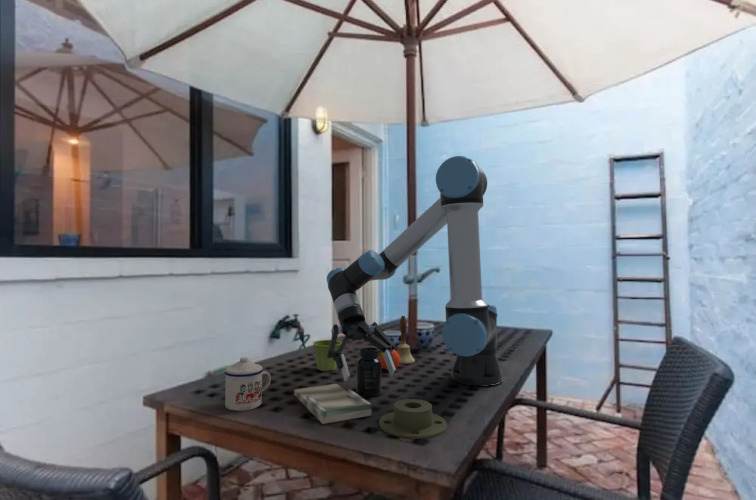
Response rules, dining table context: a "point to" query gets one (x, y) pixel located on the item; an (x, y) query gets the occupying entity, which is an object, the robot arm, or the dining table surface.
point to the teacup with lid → (244, 385)
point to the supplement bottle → (368, 373)
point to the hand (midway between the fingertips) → (370, 375)
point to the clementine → (396, 361)
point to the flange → (413, 420)
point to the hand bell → (404, 345)
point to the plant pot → (325, 355)
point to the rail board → (333, 403)
